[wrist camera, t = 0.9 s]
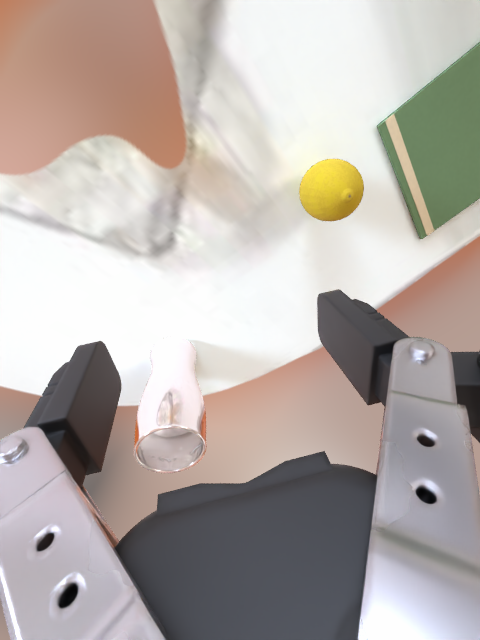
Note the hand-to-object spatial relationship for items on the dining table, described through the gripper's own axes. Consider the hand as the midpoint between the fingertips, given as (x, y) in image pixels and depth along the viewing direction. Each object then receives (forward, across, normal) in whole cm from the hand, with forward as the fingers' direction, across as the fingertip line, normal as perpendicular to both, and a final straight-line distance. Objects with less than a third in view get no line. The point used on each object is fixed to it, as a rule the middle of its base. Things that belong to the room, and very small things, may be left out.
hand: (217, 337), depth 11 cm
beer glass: (+24, +6, +17) cm, 31 cm away
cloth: (+24, -33, -4) cm, 41 cm away
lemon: (+24, -14, -1) cm, 28 cm away
